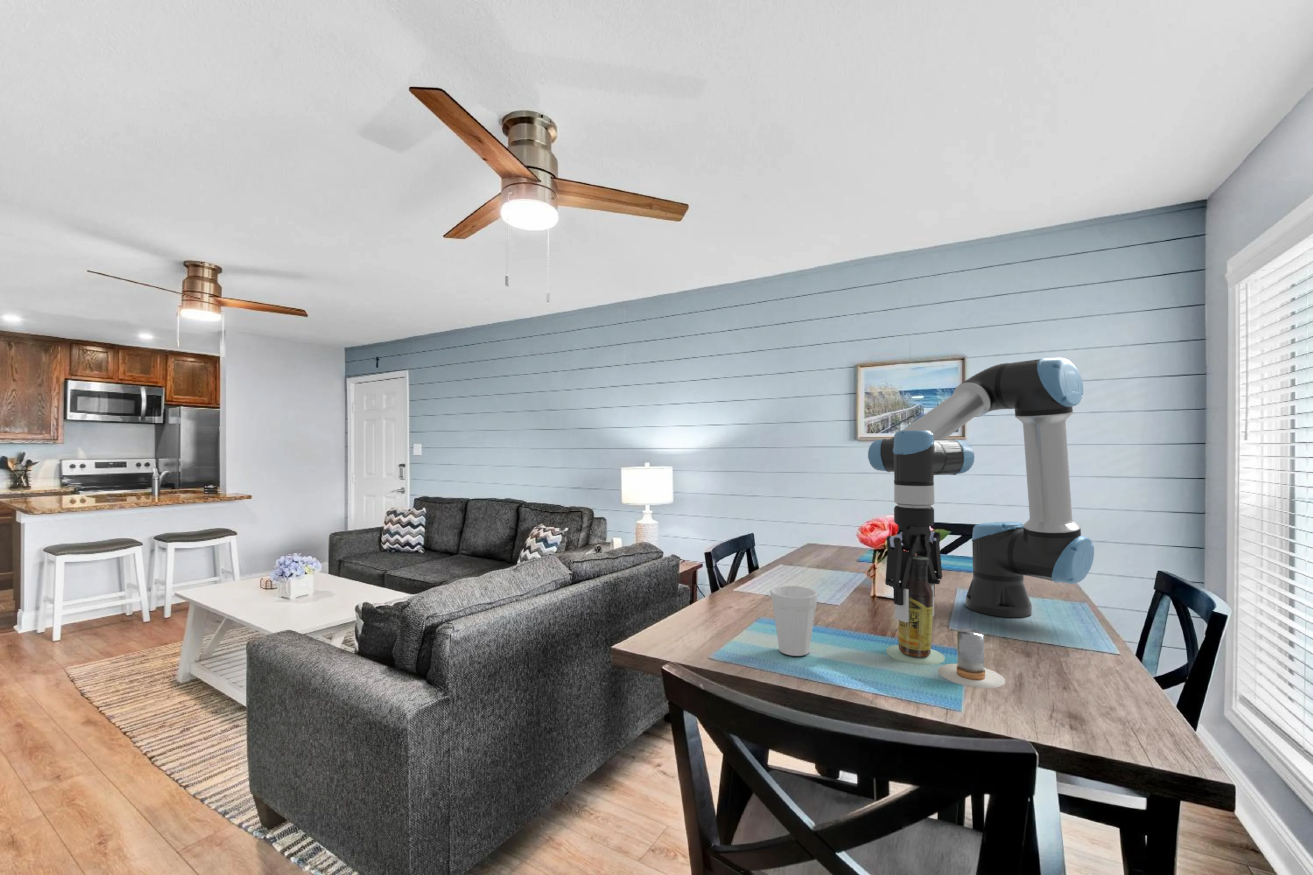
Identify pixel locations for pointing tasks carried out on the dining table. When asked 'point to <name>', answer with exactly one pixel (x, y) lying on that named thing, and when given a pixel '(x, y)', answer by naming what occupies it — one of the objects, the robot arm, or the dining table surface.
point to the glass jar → (970, 654)
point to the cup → (794, 617)
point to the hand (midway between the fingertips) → (914, 617)
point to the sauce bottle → (917, 611)
